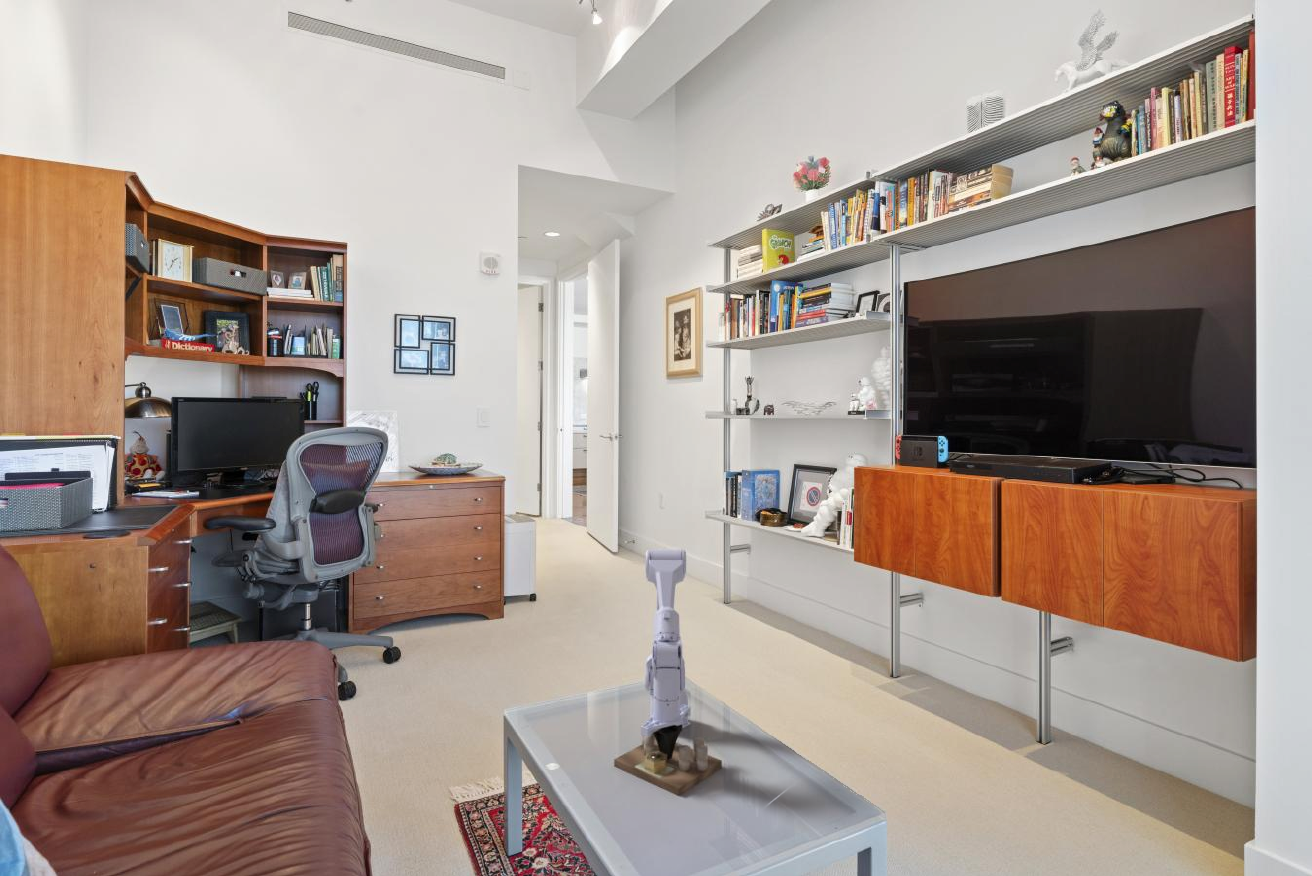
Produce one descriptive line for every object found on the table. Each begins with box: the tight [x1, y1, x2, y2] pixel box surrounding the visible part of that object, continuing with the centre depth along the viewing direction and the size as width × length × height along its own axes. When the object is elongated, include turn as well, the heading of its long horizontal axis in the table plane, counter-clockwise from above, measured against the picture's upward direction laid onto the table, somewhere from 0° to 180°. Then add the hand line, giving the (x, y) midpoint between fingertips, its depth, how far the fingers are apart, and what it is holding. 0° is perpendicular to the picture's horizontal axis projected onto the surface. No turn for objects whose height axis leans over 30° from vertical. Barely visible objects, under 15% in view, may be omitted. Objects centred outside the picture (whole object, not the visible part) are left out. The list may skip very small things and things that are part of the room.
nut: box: [645, 751, 667, 774], centre depth 149 cm, size 4×5×2 cm
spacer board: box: [613, 733, 723, 796], centre depth 152 cm, size 15×18×6 cm
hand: (666, 757), depth 152 cm, fingers closed
